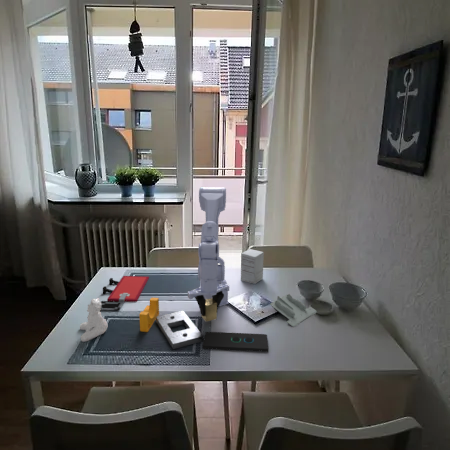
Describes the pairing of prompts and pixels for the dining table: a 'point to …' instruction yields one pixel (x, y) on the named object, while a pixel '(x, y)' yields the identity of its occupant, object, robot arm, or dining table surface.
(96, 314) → the sitting furry creature
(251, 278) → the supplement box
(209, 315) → the brass block
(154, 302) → the pipe clamp
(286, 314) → the metal bracket
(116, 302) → the red board with handle
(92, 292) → the dining table surface
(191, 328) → the metal plate with hole
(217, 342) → the smart home device
